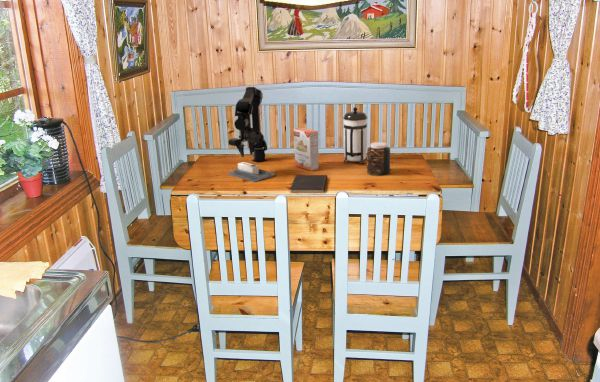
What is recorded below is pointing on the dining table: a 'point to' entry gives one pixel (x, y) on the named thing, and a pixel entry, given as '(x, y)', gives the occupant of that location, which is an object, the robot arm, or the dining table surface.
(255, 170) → the white rectangular block
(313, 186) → the hardcover book
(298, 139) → the cracker box
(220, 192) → the dining table surface
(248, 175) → the mount plate
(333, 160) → the dining table surface
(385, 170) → the jar
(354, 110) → the coffee press
